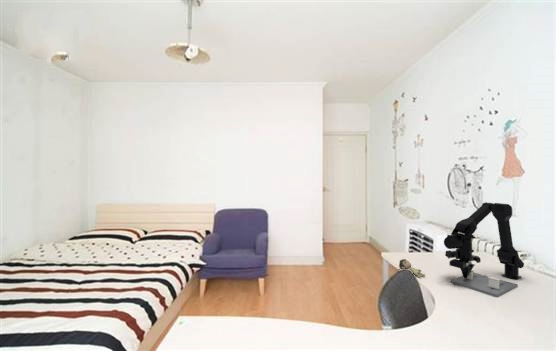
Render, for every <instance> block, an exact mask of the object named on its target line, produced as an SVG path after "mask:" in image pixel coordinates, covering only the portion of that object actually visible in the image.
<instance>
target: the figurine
mask: <svg viewBox="0 0 556 351" xmlns="http://www.w3.org/2000/svg"><path fill="white" fill-rule="evenodd" d="M398 266H399V269H400V270H401V269H409V270H411V271H412V272H413V273H414V274H415V275H414V274H413V273H412V272H411V273H412V274H413V275H414V276H416V277H418V278H419V279H421V278H425V277H426V274H425V273H422V270H421V269H418V268H415V267H413V266H412V263H411V262H410V261H408V260H407V259H405V258H403V259H400V260H399V263H398Z"/></svg>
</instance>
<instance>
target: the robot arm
mask: <svg viewBox="0 0 556 351" xmlns="http://www.w3.org/2000/svg"><path fill="white" fill-rule="evenodd" d="M491 213H492V216H493V217H494V218H495V219H496V222H497V227H498V228H497V229H498V235H499V242H500V247H499V248H498V249H497V250H496V254H497V255H496V257H497V258H498V260H499V263H500V264H503V265H504V273H502V274H501V276H502V277H505V278H509V279H512V280H515V281H517V280H519V279H521V278H522V276H521V275H520V272H519V269H522V268H524V267H525V262H524V261H522V259H521V258H520V256H519V252H518V251H517V250H516V248H515V247H514V243H513V238H512V231H511V223H510V219H511V218H512V216H513V207H512V205H510V204H508V203H499V202H494V203H493V202H483V203H481V205H480V207H478V208H477V209H476V210H475V211H474V212H473V213H471V215H470V216H469V217H467V218H463V219H461V220H459V221H458V222H457V223H456V224H455V227H453V230H452V231H451V233H450V234H447V235H446V237H445V238H444V240H443V245H444V247H445V248H446V249H448V250H445V253H444V256H446V258H447V259H451V260H449V267H454V268H458V269H460V272H461V274H462V275H463V277H464V278H467V277H468V275H469V273H470V272H471V270H472V271H473V268H474V267H475V266H476V264H473V263H472V262H473V261H474V262H476V263H477V264H480V263H481V258H480V256H478V255H474V254H473V253H474V249H473V240H474V239H476V237H475V235H473V234H474V233H475V231H476V230H477V229H478V225H479V224H480V223H481V222H482V221H483V220H484V219H485V218H486V217H488V216H489V215H490V214H491ZM452 249H455V250H452Z"/></svg>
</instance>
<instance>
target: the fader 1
mask: <svg viewBox="0 0 556 351" xmlns="http://www.w3.org/2000/svg"><path fill="white" fill-rule="evenodd" d="M474 271H475V270H473V269H472V270H471V272H470V273H469V275H468V277H467V278H468V279H471V280H472V279H473V272H474ZM474 273H475V272H474Z"/></svg>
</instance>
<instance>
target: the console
mask: <svg viewBox="0 0 556 351" xmlns="http://www.w3.org/2000/svg"><path fill="white" fill-rule="evenodd" d="M488 277H492V276H491V275H486V274H481V273H478V272H473V279H472V280H471V279H468V278H464V277H463V274H462V275H460V276H458V277H455V278H452V279H450V280H449V282H450V283H451V284H454V285H457V286H460V287H464V288H467V289H470V290H473V291H476V292H478V293H481V294H485V295H488V296H491V297H494V298H499V297H501V296H503V295H504V294H507V293H509V292H511V291H513V290H515V289H517V288H518V287H519V285H518V283H515V282H514V283H513V282H510V281H506V280H503V279H500V280H499V289H496V288H492V287H489V279H488ZM496 278H497V279H499V277H496Z"/></svg>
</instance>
